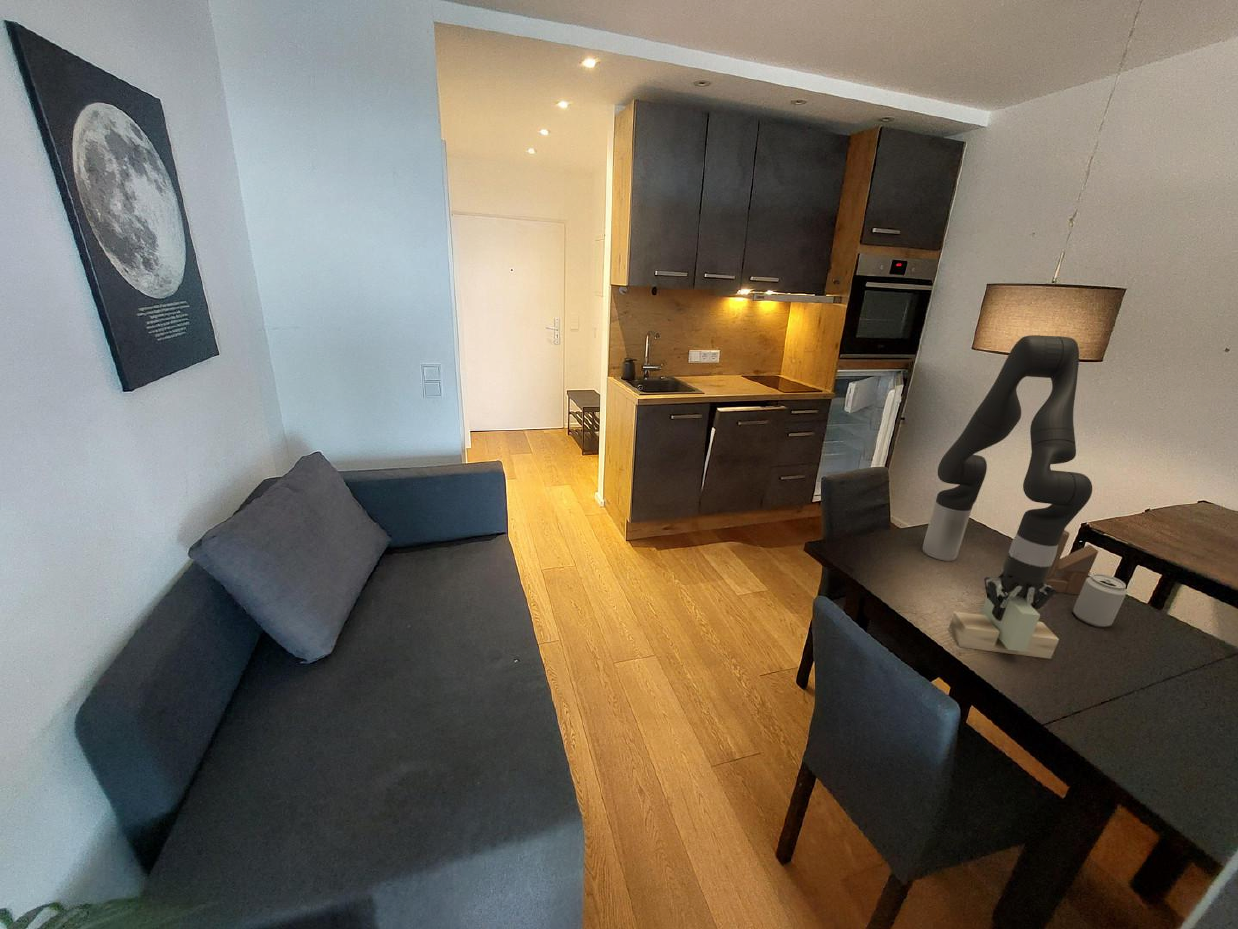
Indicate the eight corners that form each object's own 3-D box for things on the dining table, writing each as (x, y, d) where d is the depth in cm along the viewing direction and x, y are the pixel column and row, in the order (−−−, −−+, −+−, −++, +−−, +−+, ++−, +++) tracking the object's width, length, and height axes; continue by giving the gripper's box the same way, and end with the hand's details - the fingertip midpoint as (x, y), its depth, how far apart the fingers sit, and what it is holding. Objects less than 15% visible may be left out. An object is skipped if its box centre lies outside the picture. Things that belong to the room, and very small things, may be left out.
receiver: (948, 629, 118) (954, 611, 116) (1034, 640, 115) (1042, 622, 113) (959, 647, 112) (966, 628, 110) (1050, 658, 109) (1059, 639, 107)
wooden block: (1079, 595, 132) (1104, 538, 125) (1035, 589, 134) (1057, 533, 128) (1071, 587, 135) (1095, 532, 129) (1027, 582, 138) (1049, 527, 131)
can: (1071, 619, 122) (1088, 579, 118) (1071, 606, 128) (1088, 567, 123) (1111, 633, 118) (1131, 592, 113) (1110, 619, 123) (1129, 579, 118)
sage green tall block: (980, 615, 118) (992, 581, 115) (996, 617, 118) (1008, 582, 114) (1007, 649, 107) (1022, 613, 104) (1025, 651, 107) (1040, 615, 103)
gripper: (1055, 550, 107) (1030, 613, 113) (986, 543, 109) (965, 605, 116) (1079, 569, 100) (1051, 634, 107) (1004, 561, 103) (981, 626, 109)
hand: (1006, 619), depth 111 cm, fingers closed on sage green tall block, 3 cm apart
